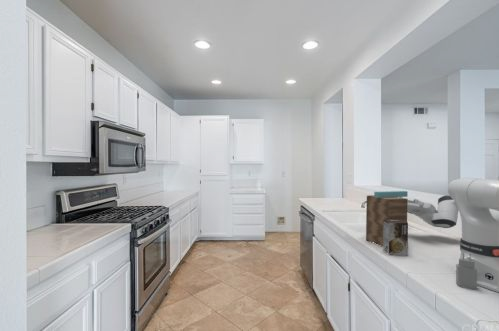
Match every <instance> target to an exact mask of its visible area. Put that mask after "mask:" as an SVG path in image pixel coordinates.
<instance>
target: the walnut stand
mask: <svg viewBox="0 0 499 331" xmlns="http://www.w3.org/2000/svg"><path fill="white" fill-rule="evenodd" d="M408 200H409V199H408V198H407V197H402V198H399V197H388V198H376V197H374V194H371V195H370V194H369V195H366V212H365V213H366V216H365V218H366V219H365V220H366V221H365V223H366V224H365V240H366V241H367V240H368V242H370V241H371V242H370V243H372V242H374V243H373V244H375V243H376V244H375V245H377V244H378V245H377V246H380V245H381V246H380V247H382V246H383V227H384V220H403V221H405V222H407V223H408V212H407V204H408Z"/></svg>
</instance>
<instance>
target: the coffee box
mask: <svg viewBox="0 0 499 331" xmlns="http://www.w3.org/2000/svg"><path fill="white" fill-rule="evenodd" d="M382 248H383V249H382V251H383V250H384V251H385V252H384V251H383V252H384V253H385V254H387V253H388V254H392V255H391V256H405V255H406V256H407V257H408V255H409V222H408V221H407V222H405V221H403V220H384V227H383V247H382ZM388 254H387V255H388Z"/></svg>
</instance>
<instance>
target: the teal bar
mask: <svg viewBox="0 0 499 331" xmlns="http://www.w3.org/2000/svg"><path fill="white" fill-rule="evenodd" d="M408 192H409V191H407V190H394V191H393V190H391V191H388V190H387V191H374V193H373V195H374V197H376V198H388V197H402V198H407V197H408Z"/></svg>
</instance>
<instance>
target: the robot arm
mask: <svg viewBox="0 0 499 331" xmlns="http://www.w3.org/2000/svg"><path fill="white" fill-rule="evenodd" d="M447 193H448V195H442V196H440V197H439V198H438V199H437V207H436V206H435V205H433V203H430V202H425V201H420V200H419V199H416V198H414V199H413V200H411V199H408V204H407V214H410V215H411V214H412V215H413V216H416V217H418V218H419V219H420V220H423V222H424V223H426V224H427V225H430V226H432V227H434V228H442V229H450V228H453V227H455V226H457V222H458V217H459V216H458V215H460V219H461V220H460V221H461V238H460V242H459V249H460V257H459V259H460V258H462V259H463V253H464V259H469V256H470V254H471V260H473V261H475V266H474V267H476V268H477V287H478V286H479V287H482V288H484V289H487V290H489V291H490V290H491V291H493V292H496V293H499V179H492V178H491V179H490V178H489V179H488V178H478V177H463V178H457V179H454V180H452V181H451V182H450V183H449V184H448V187H447ZM399 198H403V197H399Z"/></svg>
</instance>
